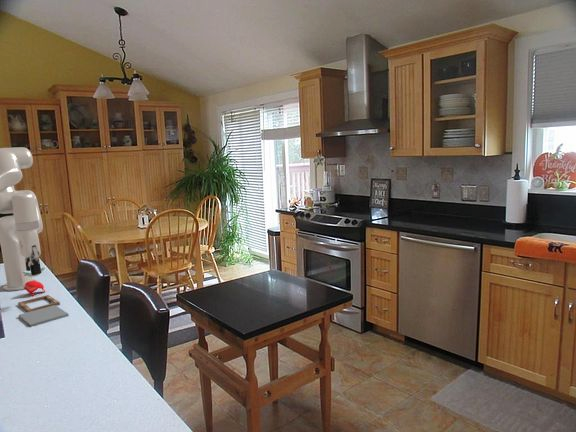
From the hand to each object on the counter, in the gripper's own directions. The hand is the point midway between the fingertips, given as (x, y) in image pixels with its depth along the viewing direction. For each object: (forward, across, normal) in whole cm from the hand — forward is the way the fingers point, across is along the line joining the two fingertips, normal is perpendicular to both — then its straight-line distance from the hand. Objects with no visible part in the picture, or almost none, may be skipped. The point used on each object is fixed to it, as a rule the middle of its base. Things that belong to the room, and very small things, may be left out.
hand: (33, 272), depth 164 cm
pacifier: (+1, -1, 0) cm, 2 cm away
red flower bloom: (+14, -15, +3) cm, 20 cm away
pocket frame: (+13, +1, 0) cm, 13 cm away
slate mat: (+12, +16, -3) cm, 20 cm away
